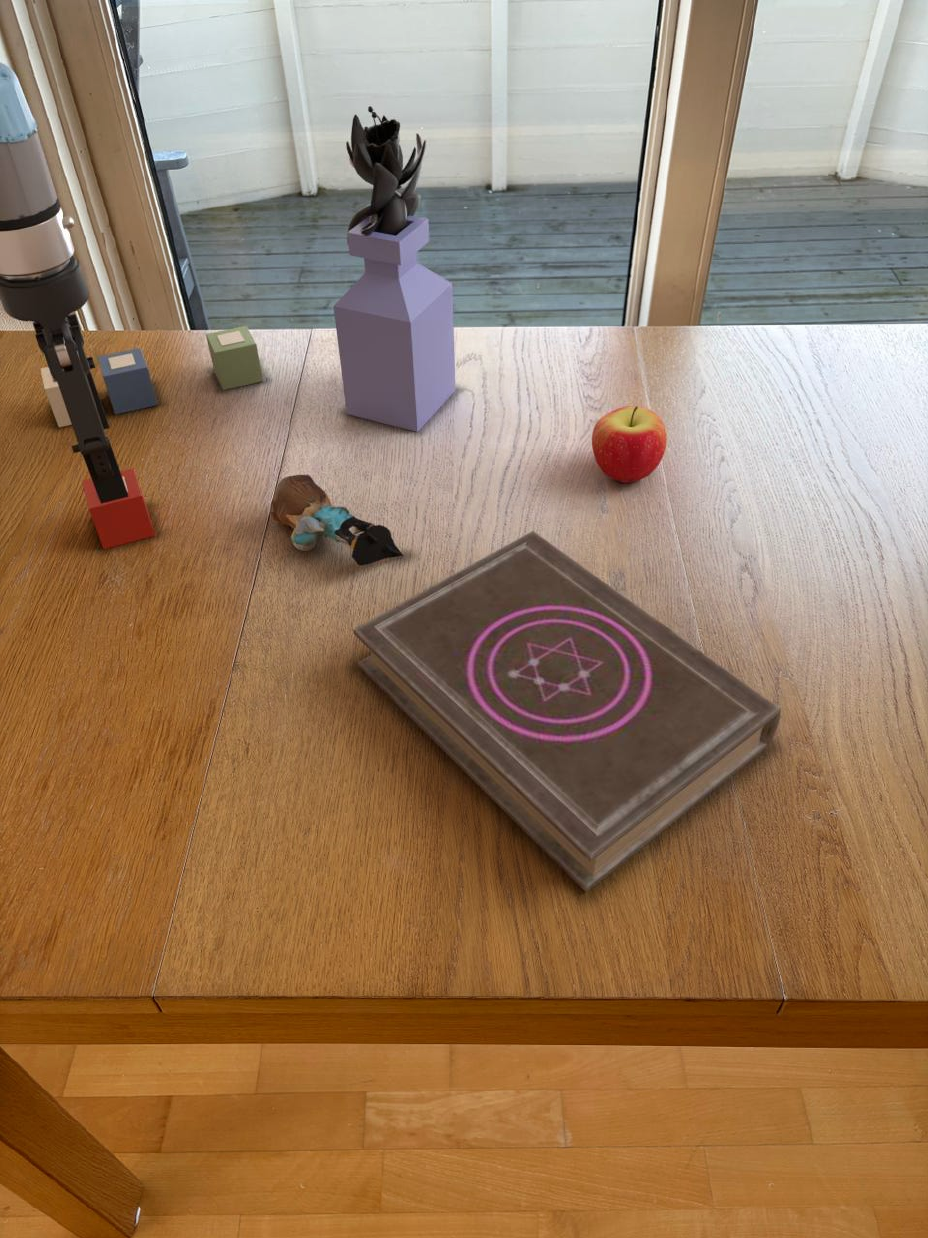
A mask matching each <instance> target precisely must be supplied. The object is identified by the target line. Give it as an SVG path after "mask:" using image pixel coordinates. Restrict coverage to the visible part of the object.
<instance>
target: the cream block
mask: <svg viewBox="0 0 928 1238" xmlns="http://www.w3.org/2000/svg"><path fill="white" fill-rule="evenodd" d="M40 373H41V378H42V384H43V390H44V392H45V395H46V398H47V400H48V403H49V406H50V408H51V410H52V413H53V416H54V419H55V421H56V424H57V427H58V428H63V427H68V426H72V424H71V421H70V418H69V415H68V412H67V409H66V406H65V403H64V400H63V398H62V395H61V392H60V389H59V386H58V383H57V380H55V379H54V378H53V377H52V375H51V373H50V370H49V367H48V366H46V367H45V366H44V367H41V368H40Z"/></svg>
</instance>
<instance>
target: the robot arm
mask: <svg viewBox="0 0 928 1238" xmlns="http://www.w3.org/2000/svg"><path fill="white" fill-rule="evenodd" d="M17 76H18V75H17V74H16V73H15V71H14V70H13V69H11V67H10V66H8V65H6V64H5V63H3V62H1V61H0V303H1V306H2V308H3V311H4V312H5V313H6V315H8V316H9V317H11V318H13V319H14V320H18V321H21V322H32V325H33V329H34V333H35V334H34V336H35V340H36V343H37V345H38V349H39V350H40V352H41V353H42V354H43V355H44V357H45V358H44V359H45V361H46V364H47V367H49V370H50V373H51V375H52V377H53V378H54V379H55V380H57V383H58V386H59V389H60V392H61V395H62V398H63V400H64V403H65V406H66V409H67V412H68V415H69V418H70V421H71V424H72V425H71V427H72V430H73V433H74V435H75V438H76V442H77V444H74V445H71V451H72V452H73V454H76V453H80V454H81V455H82V457H83V460H84V463H85V465H86V468H87V471H88V473H89V477H90V479H92V481H93V484H94V486H95V489H96V492H97V494H98V497H99V500H100V502H101V504H102V503H106V502H110V501H114V500H117V499H121V498H125V497H129V496H128V492H127V490H126V487H125V484H124V481H123V478H122V475H121V472H120V471H121V469H120V467H119V464H118V461H117V458H116V455H115V452H114V450H113V447H112V443H111V441H110V438H109V437H108V435H107V434H106V432H105V430H109V429H111V427H110V424H109V421H108V419H107V415H106V413H105V409H104V406H103V404H102V400H101V398H100V395H99V392H98V389H97V386H96V382H95V381H94V376H93V373H92V371H91V370H92V369H96V365H95V364H96V363H95V361H94V359H93V356H90V357H87V355H86V354H87V353H86V351H85V348H84V345H85V339H84V336H83V333H82V328H81V325H80V322H79V319H78V316H77V314H76V313H75V312H77V311H79V310H80V309H81V308H83V307H84V306H85V305H86V303H87V302H88V300H89V299H90V298H89V297H90V291H89V287H88V284H87V281H86V278H85V274H84V271H83V268H82V265H81V262H80V260H79V258H78V257H77V256H75V255H74V253H75V246H74V243H73V240H72V237H71V234H70V231H69V230H68V229H72V228H74V227H75V220H74V219H73V217H72V216H71V215H65V216H64V213H63V210H62V207H61V203H60V200H59V197H58V193H57V191H56V189H55V186H54V182H53V179H52V175H51V172H50V168H49V166H48V164H47V162H48V161H47V159H46V157H45V152H44V150H43V146H42V143H41V141H40V135H39V132H38V124H37V121H36V118H35V117H34V115H33V114H32V112H31V109H30V106H29V104H28V101H27V99H26V96H25V93H24V91H23V89H22V86H21V84H20V83H21V82H20V81H19V78H18V77H17Z"/></svg>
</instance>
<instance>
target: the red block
mask: <svg viewBox="0 0 928 1238" xmlns="http://www.w3.org/2000/svg"><path fill="white" fill-rule="evenodd" d="M120 472H121V475H122V478H123V481H124V484H125V487H126V490H127V492H128V496H129V497H125V498H121V499H117V500H114V501H110V502H106V503H102V504H101V502H100V500H99V497H98V494H97V492H96V489H95V486H94V484H93V481H92V479H91V478H87V479H83V480H82V485H83V490H84V495H85V499H86V505H87V508H88V511H89V514H90V516H91V519H92V522H93V525H94V527H95V530H96V532H97V536H98V538H99V541H100V544H101V546H102V548H103V550H107V549H110V548H114V547H118V546H122V545H126V544H130V543H133V542H137V541H142V540H144V539H145V540H146V539H149V538H152V537H156V534H155V530H154V527H153V524H152V521H151V518H150V514H149V511H148V507H147V505H146V501H145V498H144V495H143V492H142V488H141V486H140V485H141V484H140V482H139V479H138V477H137V472H136V469H135V468H134V467H132V468H127V469H124V470H120Z"/></svg>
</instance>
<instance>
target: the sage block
mask: <svg viewBox="0 0 928 1238" xmlns="http://www.w3.org/2000/svg"><path fill="white" fill-rule="evenodd" d="M205 336H206V341H207V346H208V349H209V353H210V354H209V355H210V359H211V364H212V367H213V372H214V374H215V377H216V378H217V381H218V383H219V384H220V387H221V389H222V391H226V390H231V389H235V388H239V387H244V386H248V385H252V384H258V383H261V382H264V378H263V377H264V376H263V371H262V365H261V361H260V356H259V350H258V346H257V342H256V341H255V339H254V337H253V335H252V333H251V332H250V330H249V328H248V326H247V325H243V326H238V327H234V328H229V329H223V330H219V331H214V332H210V333H206V334H205Z"/></svg>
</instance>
